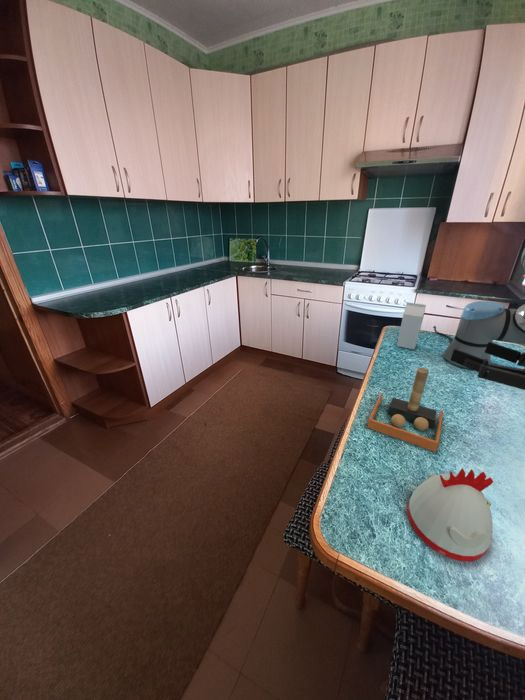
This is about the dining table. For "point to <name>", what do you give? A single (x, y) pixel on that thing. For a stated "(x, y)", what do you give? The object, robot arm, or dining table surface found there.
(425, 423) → the crumb
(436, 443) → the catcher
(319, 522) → the dining table surface
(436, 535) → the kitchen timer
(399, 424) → the crumb
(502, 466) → the dining table surface
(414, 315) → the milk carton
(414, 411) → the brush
